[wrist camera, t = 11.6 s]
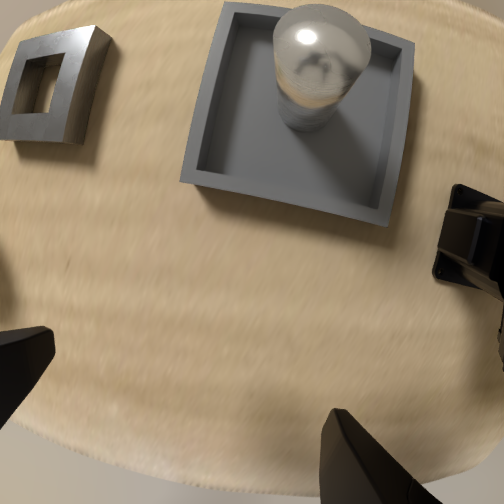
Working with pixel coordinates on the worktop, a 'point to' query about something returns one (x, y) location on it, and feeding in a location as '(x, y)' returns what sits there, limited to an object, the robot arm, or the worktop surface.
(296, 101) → the pin
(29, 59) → the pin holder
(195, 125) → the parts tray
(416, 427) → the worktop surface
